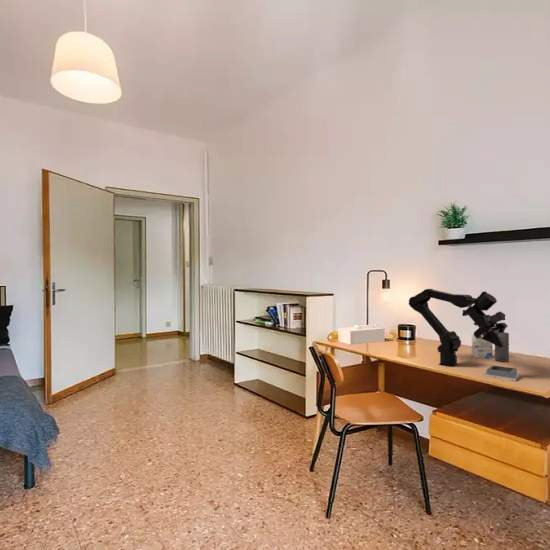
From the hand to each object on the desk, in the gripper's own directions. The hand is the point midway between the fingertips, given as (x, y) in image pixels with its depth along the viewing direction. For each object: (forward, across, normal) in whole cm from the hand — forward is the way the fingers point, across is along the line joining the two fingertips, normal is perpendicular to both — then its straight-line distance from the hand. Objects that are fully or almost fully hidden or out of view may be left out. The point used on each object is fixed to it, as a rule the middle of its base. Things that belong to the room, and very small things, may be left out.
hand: (505, 346), depth 167 cm
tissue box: (-57, +14, +76) cm, 96 cm away
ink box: (-8, +29, +27) cm, 41 cm away
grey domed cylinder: (+4, 0, +6) cm, 7 cm away
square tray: (+8, 0, +10) cm, 13 cm away
